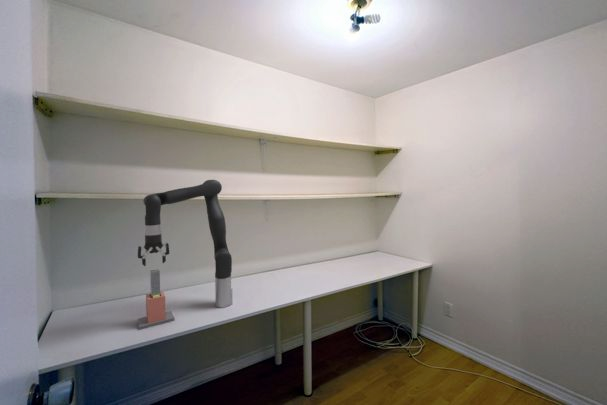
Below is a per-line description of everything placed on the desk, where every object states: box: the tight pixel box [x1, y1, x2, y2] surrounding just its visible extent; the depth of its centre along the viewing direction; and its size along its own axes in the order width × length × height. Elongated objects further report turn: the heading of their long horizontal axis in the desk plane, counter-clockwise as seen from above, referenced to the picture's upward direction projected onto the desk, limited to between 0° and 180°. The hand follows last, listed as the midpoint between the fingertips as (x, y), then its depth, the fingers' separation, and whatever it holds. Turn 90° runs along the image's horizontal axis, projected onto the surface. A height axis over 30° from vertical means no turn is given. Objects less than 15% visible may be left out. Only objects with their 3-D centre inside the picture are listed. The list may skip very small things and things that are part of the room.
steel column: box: [149, 268, 161, 298], centre depth 142 cm, size 4×4×18 cm
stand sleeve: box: [137, 290, 175, 331], centre depth 143 cm, size 16×10×15 cm, turn 125°
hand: (154, 264), depth 141 cm, fingers open, 8 cm apart
